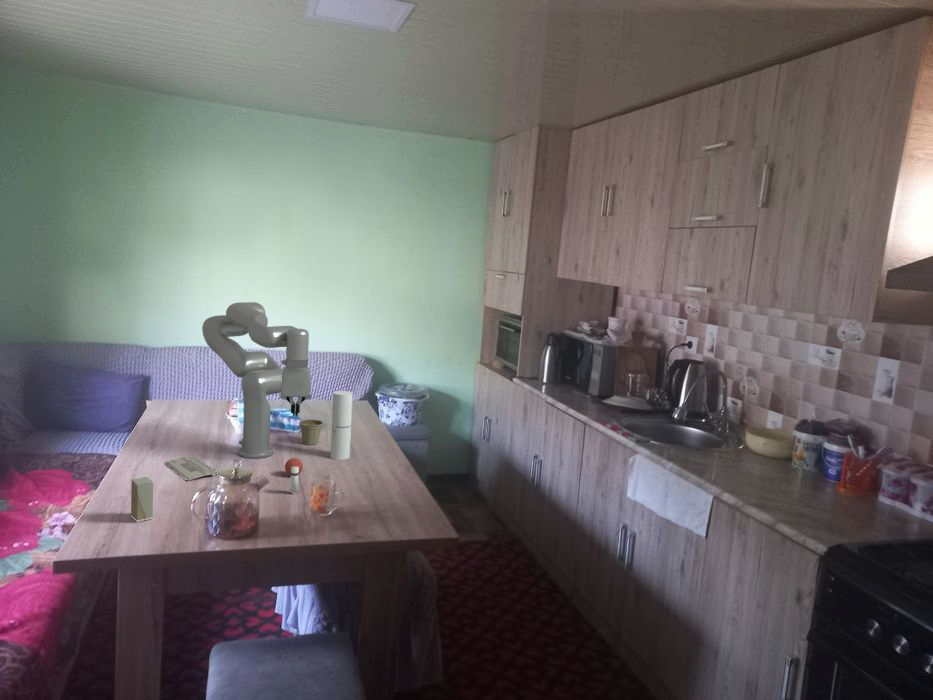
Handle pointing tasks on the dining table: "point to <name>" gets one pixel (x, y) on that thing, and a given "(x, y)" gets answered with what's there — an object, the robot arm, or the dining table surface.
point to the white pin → (294, 479)
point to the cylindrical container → (341, 425)
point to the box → (141, 498)
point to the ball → (292, 463)
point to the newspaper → (190, 467)
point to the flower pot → (310, 431)
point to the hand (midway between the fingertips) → (295, 414)
